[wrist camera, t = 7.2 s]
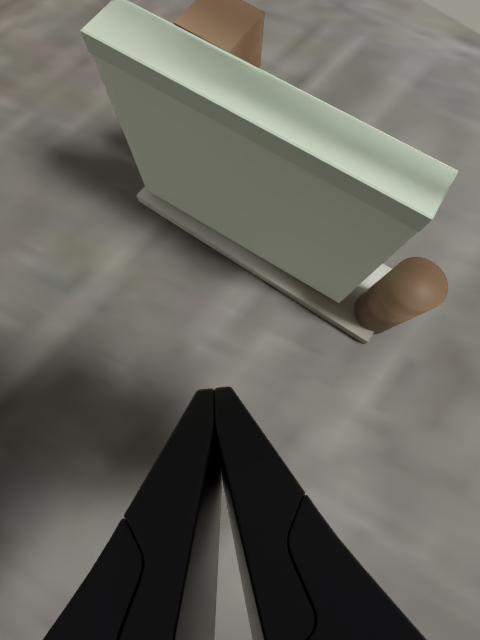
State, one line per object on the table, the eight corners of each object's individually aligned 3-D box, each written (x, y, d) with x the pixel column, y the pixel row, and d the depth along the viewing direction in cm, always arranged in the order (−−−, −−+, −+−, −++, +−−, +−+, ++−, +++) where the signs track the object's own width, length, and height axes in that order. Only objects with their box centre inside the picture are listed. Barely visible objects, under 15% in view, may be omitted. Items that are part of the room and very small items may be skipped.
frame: (374, 350, 18) (508, 303, 9) (138, 201, 20) (67, 46, 11) (417, 275, 19) (571, 171, 11) (191, 141, 21) (163, -41, 12)
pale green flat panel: (354, 276, 18) (458, 170, 10) (338, 304, 18) (432, 219, 9) (165, 167, 19) (117, -5, 11) (145, 191, 19) (80, 30, 11)
